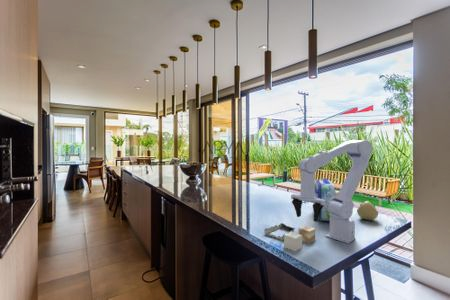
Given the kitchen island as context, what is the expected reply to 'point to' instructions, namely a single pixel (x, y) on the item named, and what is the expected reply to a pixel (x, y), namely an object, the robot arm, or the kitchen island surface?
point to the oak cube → (307, 233)
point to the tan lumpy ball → (367, 211)
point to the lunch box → (324, 196)
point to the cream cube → (293, 241)
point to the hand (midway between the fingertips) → (307, 218)
